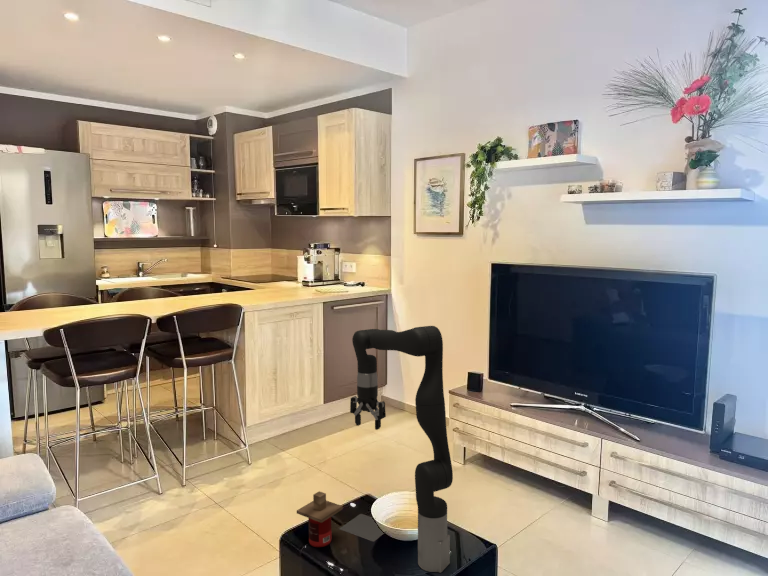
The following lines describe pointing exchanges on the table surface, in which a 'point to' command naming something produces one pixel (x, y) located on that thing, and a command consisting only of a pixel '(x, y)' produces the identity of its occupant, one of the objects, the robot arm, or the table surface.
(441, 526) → the robot arm
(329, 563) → the table surface
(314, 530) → the canned food
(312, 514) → the lid
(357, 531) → the mat
